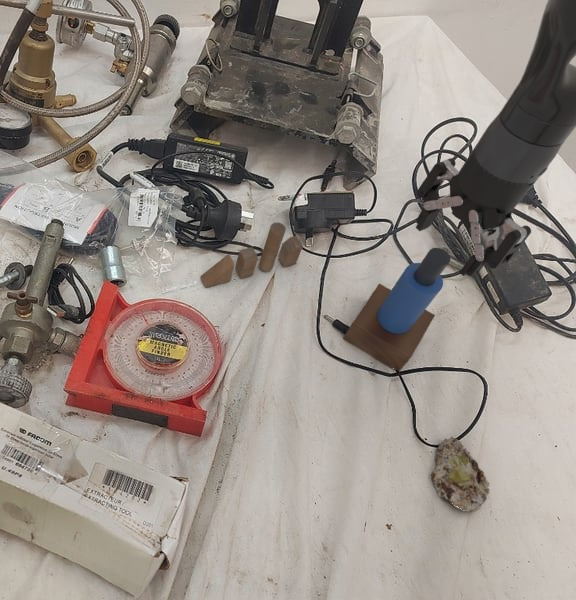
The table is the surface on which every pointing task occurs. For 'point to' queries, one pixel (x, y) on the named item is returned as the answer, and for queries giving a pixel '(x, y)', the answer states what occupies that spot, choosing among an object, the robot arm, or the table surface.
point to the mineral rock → (459, 476)
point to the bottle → (413, 292)
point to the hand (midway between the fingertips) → (443, 249)
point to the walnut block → (385, 333)
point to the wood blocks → (254, 258)
